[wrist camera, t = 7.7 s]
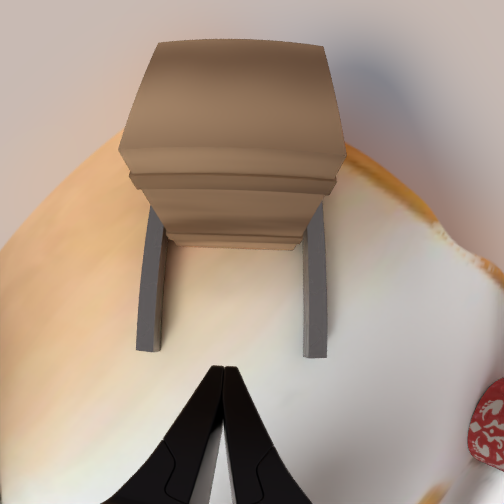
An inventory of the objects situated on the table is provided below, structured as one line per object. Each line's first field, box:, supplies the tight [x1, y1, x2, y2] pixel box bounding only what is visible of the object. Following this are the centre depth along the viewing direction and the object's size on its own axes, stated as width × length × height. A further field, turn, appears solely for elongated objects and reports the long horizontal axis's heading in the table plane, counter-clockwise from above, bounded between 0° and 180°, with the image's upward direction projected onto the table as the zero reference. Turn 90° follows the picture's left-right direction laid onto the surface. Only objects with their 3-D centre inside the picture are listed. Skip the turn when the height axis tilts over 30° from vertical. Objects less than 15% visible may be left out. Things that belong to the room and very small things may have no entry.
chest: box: [118, 39, 347, 250], centre depth 14 cm, size 6×7×10 cm
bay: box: [136, 201, 327, 358], centre depth 16 cm, size 14×10×5 cm
